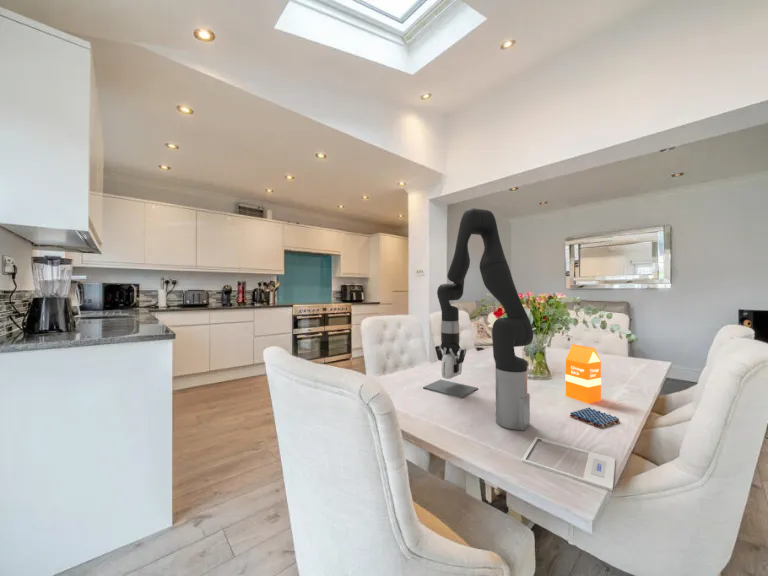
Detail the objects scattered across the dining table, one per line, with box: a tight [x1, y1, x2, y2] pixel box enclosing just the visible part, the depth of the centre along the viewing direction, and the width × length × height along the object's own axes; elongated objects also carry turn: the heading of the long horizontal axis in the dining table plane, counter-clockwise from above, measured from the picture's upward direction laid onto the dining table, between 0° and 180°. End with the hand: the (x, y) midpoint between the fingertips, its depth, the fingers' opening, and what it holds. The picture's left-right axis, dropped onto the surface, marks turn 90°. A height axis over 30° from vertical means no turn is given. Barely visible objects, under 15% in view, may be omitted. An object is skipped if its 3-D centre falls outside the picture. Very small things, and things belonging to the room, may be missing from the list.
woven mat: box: [569, 407, 621, 430], centre depth 100 cm, size 10×11×2 cm
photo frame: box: [521, 436, 616, 492], centre depth 76 cm, size 15×1×18 cm
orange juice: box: [565, 344, 602, 404], centre depth 118 cm, size 8×9×20 cm
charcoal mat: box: [422, 379, 479, 399], centre depth 130 cm, size 18×14×1 cm
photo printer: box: [440, 351, 463, 380], centre depth 131 cm, size 10×4×12 cm
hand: (450, 371), depth 130 cm, fingers closed on photo printer, 4 cm apart
